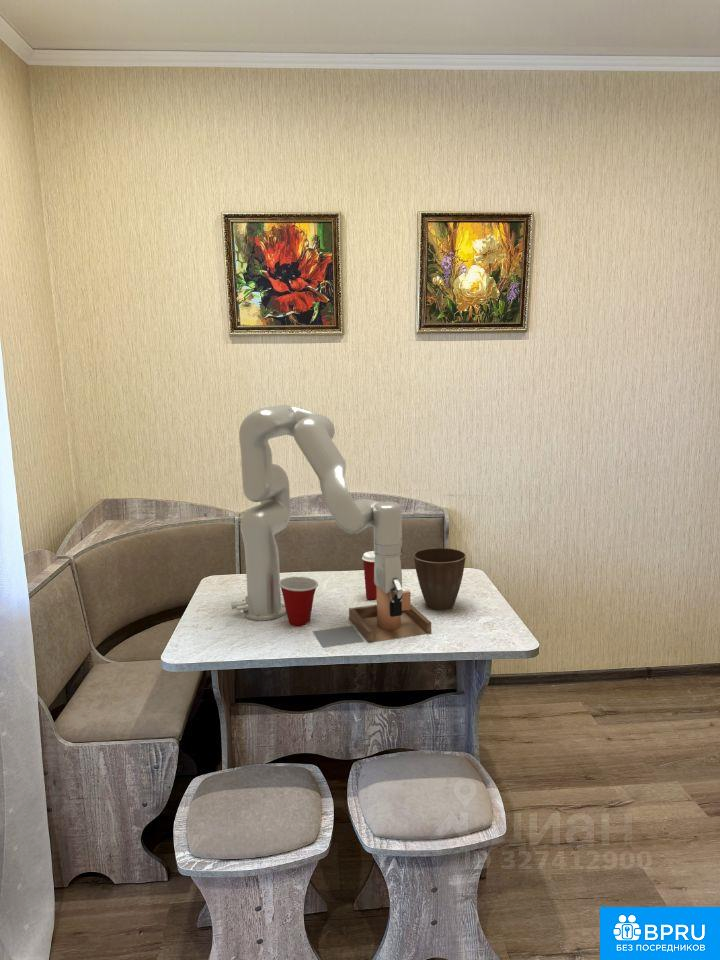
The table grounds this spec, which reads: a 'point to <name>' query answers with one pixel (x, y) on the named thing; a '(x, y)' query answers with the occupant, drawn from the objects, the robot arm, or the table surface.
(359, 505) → the robot arm
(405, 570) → the table surface
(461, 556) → the plant pot
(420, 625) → the brown tray
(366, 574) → the paper cup
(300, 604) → the plastic cup
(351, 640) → the coaster
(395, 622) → the tan tapered cylinder
